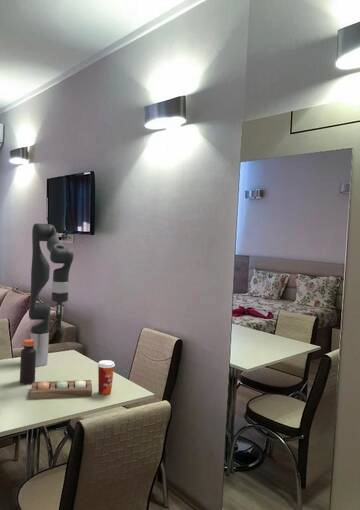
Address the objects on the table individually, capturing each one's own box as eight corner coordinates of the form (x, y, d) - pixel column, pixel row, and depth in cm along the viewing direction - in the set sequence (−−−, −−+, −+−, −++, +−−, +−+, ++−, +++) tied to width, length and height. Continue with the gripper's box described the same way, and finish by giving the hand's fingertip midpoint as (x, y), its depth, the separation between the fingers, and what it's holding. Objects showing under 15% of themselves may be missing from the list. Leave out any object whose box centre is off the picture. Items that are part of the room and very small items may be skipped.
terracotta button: (37, 390, 183) (38, 381, 182) (49, 390, 184) (49, 381, 184) (37, 394, 178) (37, 385, 178) (48, 394, 179) (48, 385, 179)
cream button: (74, 389, 187) (75, 380, 187) (85, 388, 188) (85, 380, 188) (74, 393, 182) (75, 384, 182) (85, 392, 183) (86, 384, 183)
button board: (32, 388, 185) (32, 381, 185) (90, 386, 192) (91, 380, 192) (29, 399, 174) (30, 392, 174) (91, 396, 181) (92, 389, 180)
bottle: (16, 382, 191) (18, 340, 190) (27, 378, 197) (29, 337, 196) (26, 385, 188) (28, 343, 187) (38, 381, 194) (39, 340, 193)
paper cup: (107, 397, 181) (109, 366, 180) (92, 393, 184) (94, 363, 183) (116, 391, 188) (118, 361, 188) (102, 387, 191) (103, 358, 190)
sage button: (56, 389, 185) (56, 381, 184) (67, 389, 186) (67, 380, 186) (56, 394, 180) (56, 385, 180) (67, 393, 181) (67, 384, 181)
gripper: (52, 288, 196) (50, 324, 197) (51, 292, 183) (49, 330, 184) (68, 289, 198) (66, 324, 199) (68, 293, 185) (66, 330, 186)
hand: (58, 327), depth 191 cm, fingers closed
